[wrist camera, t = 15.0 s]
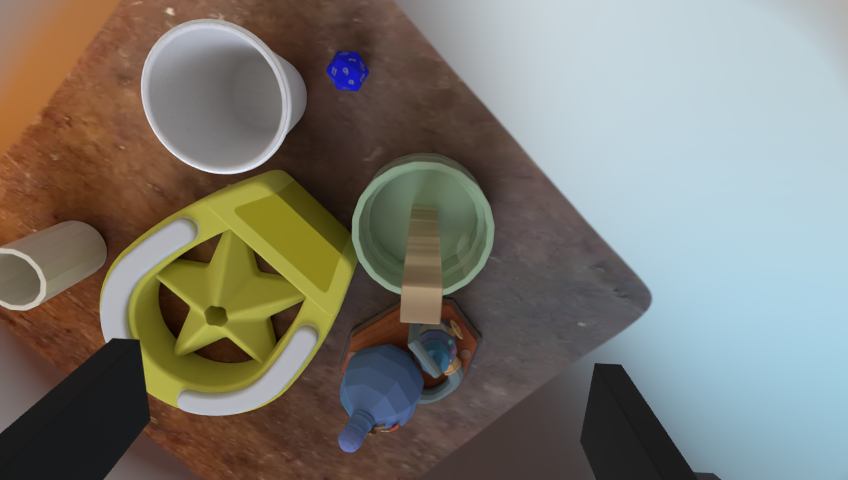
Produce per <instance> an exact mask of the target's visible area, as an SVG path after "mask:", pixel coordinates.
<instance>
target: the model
mask: <svg viewBox="0 0 848 480" xmlns="http://www.w3.org/2000/svg"><path fill="white" fill-rule="evenodd" d="M400 308H401V300H400V301H398V302H397V303H395V304H393V305H392V306H390V307H388V308H387V309H385V310H384V311H382V312H380V313H379V314H377V315H375V316H374V317H372V318H370V319H369V320H367V321H366V322H364V323H362V324H361V325H359V326H357V327H356V328H354V329H352V330H351V333H350V336H349V339H348V342H347V345H346V348H345V351H344V355H343V358H342V362H341V365H340V370H341V371H342V373H343V375H344V376H343V380H342V384H341V387H340V398H341V403H342V404H343V406H344V407H345V409H346V411H347V412H348V414H349V415H350V420H349V421H348V423H346V426H345V428H344V429H343V430H342V431H341V432H340V434H339V436H338V443H339V445H340V447H341V448H342V449H343V450H344V451H346V452H354V451H356V450H357V449H358V448H359V447H360V446H361V445H362V443H363V440H364V439H365V436H366V434H367V433H369V434H370V435H376V434H377V433H380V432H381V431H382V432H388V433H389V432H391V431H393V430H396V429H397V428H398V427H399V426H402V425H404V424H405V423H406V422H407V421H408V420H409V418H410V417H411V416H412V415H413V413H414V411H415V408H416V406H417V404H427V403H431V402H435V401H438V400H440V399H442V398H443V397H445V396H447V395H448V394H449V393H451V392H452V391H454V390H455V389H456V388H457V387H458V386H459V385H460V383H461V381H462V378H463V377H464V376H465V375H466V374H467V373H468V371H469V368H470V365H471V362H472V360H473V357H474V355H475V352H476V350H477V348H478V346H479V344H480V342H481V340H482V338H481V336H480V335H479V334H478V333H477V331H476V330H475V329H474V327H473V326H472V325H471V323H470V322H469V321H468V320H467V318H466V317H465V315H464V314H463V312H462V311H461V310H460V308H459V307H458V305H457V304H456V302H455V301H454V299H449V298H442V309H441V322H440V324H423V323H405V322H400ZM378 431H379V432H378Z"/></svg>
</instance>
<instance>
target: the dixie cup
mask: <svg viewBox="0 0 848 480" xmlns="http://www.w3.org/2000/svg"><path fill="white" fill-rule="evenodd" d="M141 95H142V102H143V107H144V110H145V113H146V116H147V119H148V121H149V123H150V125H151V127H152V129H153V131H154V132H155V134H156V136H157V137H158V138H159V140H160V141H161V142H162V143H163V145H164V146H165V147H166V148H167V149H168V150H169V151H170V152H171V153H173V154H174V155H175V156H176V157H178V158H179V159H180V160H182V161H183V162H185V163H187V164H189V165H191V166H193V167H195V168H197V169H200V170H203V171H206V172H210V173H216V174H235V173H241V172H245V171H248V170H251V169H253V168H255V167H257V166H259V165H261V164H262V163H264V162H265V161H266V160H268V159H269V158H270V157H271V156H272V155H273V154H274V153H275V152H276V151H277V150H278V148H279V147H280V145H281V144H282V142H283V140H284V138H285V136H286V134H287V133H288V132H289V131H290V130H291V129H292V128H293V127H294V126H295V125H296V124H297V123H298V121H299V120H300V119H301V117H302V116H303V114H304V111H305V108H306V104H307V91H306V86H305V83H304V81H303V79H302V77H301V75H300V73H299V72H298V71H297V69H296V68H295V67H294V66H293V65H292V64H290V63H289V62H288V61H286V60H285V59H283V58H282V57H280V56H279V55H277V54H276V53H274V52H273V51H271V50H270V49H269V47H268V46H267V45H266V44H265V43H264V42H263V41H262V40H260V39H259V38H258V37H257V36H255V35H254V34H253V33H251V32H250V31H248V30H246V29H244V28H242V27H240V26H238V25H236V24H233V23H230V22H227V21H223V20H217V19H198V20H192V21H188V22H185V23H182V24H180V25H178V26H176V27H174V28H172V29H171V30H169V31H168V32H166V33H165V34H164V35H163V36H162V37H161V38H160V39H159V40H158V41H157V42H156V43H155V45H154V46H153V48H152V49H151V51H150V53H149V54H148V57H147V59H146V61H145V64H144V68H143V72H142V79H141Z"/></svg>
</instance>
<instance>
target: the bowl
mask: <svg viewBox="0 0 848 480" xmlns="http://www.w3.org/2000/svg"><path fill="white" fill-rule="evenodd" d="M413 205H415V206H431V207H437V210H438V224H439V238H440V252H441V266H442V280H443V295H446V294H450V293H452V292H454V291H456V290H457V289H459V288H461V287H463V286H464V285H466V284H468V283H469V282H470V281H471V280H472V279H473V278H474V277H475V276H476V275H477V274H478V273H479V272H480V270H481V269H482V268H483V267H484V265H485V263H486V261H487V259H488V256H489V254H490V252H491V250H492V247H493V239H494V229H495V225H494V220H493V216H492V211H491V207H490V204H489V202H488V200H487V198H486V196H485V194H484V192H483V190H482V188H481V187H480V185H479V183H478V182H477V180H476V179H475V177H474V175H472V173H471V172H469V171H468V170H467V169H466V168H465V167H463V166H462V165H461V164H460V163H459V162H457V161H455V160H453V159H450V158H448V157H445V156H443V155H440V154H436V153H419V152H417V153H413V154H409V155H405V156H401V157H397V158H395V159H394V160H392V161H391V162H389V163H388V164H386V165H385V166H383V167H382V168H380V169H379V170H378V171H377V172H376V174H375V175H374V176H373V177H372V179H371V180H370V181H369V182H368V184H367V185H366V187H365V189H364V191H363V192H362V194H361V196H360V198H359V200H358V203H357V206H356V208H355V211H354V214H353V217H352V241H353V245H354V248H355V251H356V254H357V257H358V259H359V261H360V263H361V264H362V266H363V267H364V268H365V270H366V271H367V272H368V274H369V275H370V277H371V278H373V279H374V280H375V281H377V282H378V283H379V284H381V285H382V286H383V287H385V288H386V289H388V290H390V291H393V292H395V293H398V294H401V288H402V279H403V271H404V263H405V256H406V248H407V240H408V232H409V224H410V216H411V208H412V206H413Z"/></svg>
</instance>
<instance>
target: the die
mask: <svg viewBox="0 0 848 480" xmlns="http://www.w3.org/2000/svg"><path fill="white" fill-rule="evenodd" d="M326 71H327V73H328V75H329V76H330V78H331V79H332V81H333V83H334V84H335V86H336V88H337V89H338V90H349V91H358V90H359V88H360V87H361V85H362V83H363V82H364V80H365V79H366V77H367V75H368V74H369V71H368V69H367V67H366V65H365V64H364V62H363V60H362V58H361V56H360V55H359V53H358V52H345V51H338V52H337V53H336V55H335V56H334V58H333V59H332V61H331V63H330V64H329V66H328V67H327V69H326Z"/></svg>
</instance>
